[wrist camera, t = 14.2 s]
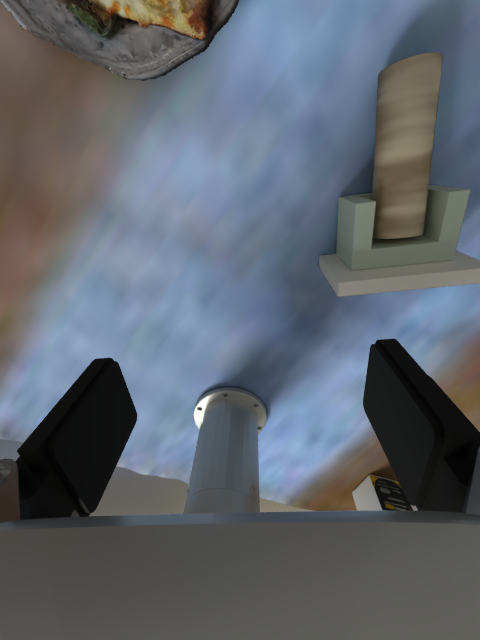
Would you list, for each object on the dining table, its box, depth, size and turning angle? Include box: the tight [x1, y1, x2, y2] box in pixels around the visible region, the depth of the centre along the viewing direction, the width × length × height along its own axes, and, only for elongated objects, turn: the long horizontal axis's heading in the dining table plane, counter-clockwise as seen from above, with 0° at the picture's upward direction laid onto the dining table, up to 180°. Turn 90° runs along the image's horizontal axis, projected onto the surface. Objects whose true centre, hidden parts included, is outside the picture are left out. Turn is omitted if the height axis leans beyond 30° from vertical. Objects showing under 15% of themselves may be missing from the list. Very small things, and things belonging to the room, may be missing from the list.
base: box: [319, 251, 480, 297], centre depth 31 cm, size 2×14×9 cm, turn 97°
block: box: [336, 185, 471, 270], centre depth 30 cm, size 6×10×6 cm, turn 97°
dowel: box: [372, 53, 443, 239], centre depth 27 cm, size 14×5×5 cm, turn 7°
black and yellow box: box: [352, 474, 413, 511], centre depth 53 cm, size 7×7×12 cm
